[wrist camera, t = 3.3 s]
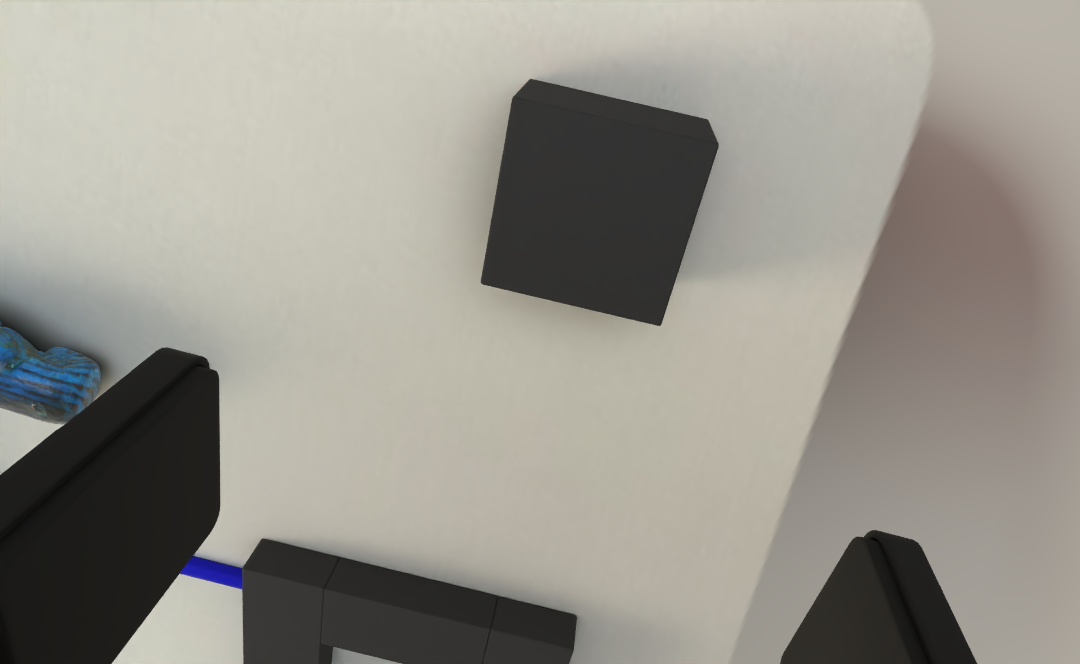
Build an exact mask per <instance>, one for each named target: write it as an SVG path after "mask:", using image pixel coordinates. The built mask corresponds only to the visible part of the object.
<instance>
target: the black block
mask: <svg viewBox="0 0 1080 664" xmlns="http://www.w3.org/2000/svg"><path fill="white" fill-rule="evenodd" d="M717 149H718V142H717V140H716V137H715V135H714V133H713V130H712V128H711V126H710V123H709V121H708V120H707V119H703V118H699V117H694V116H690V115H686V114H681V113H677V112H673V111H668V110H664V109H659V108H655V107H651V106H646V105H642V104H638V103H633V102H629V101H625V100H620V99H616V98H612V97H607V96H603V95H599V94H594V93H590V92H586V91H581V90H577V89H572V88H568V87H564V86H559V85H555V84H551V83H546V82H542V81H538V80H533V79H530V80H529V81H528V82H527V83H526V84H525V85H524V86H523V87H522V88H521V89H520V90H519V91H518V92H517V94H516V95H515V96H514V97H513V98H512V103H511V109H510V115H509V120H508V126H507V132H506V138H505V144H504V150H503V155H502V161H501V167H500V173H499V179H498V185H497V190H496V196H495V202H494V208H493V214H492V219H491V225H490V231H489V237H488V243H487V249H486V254H485V260H484V266H483V272H482V278H481V284H483V285H488V286H492V287H496V288H500V289H505V290H509V291H513V292H517V293H522V294H526V295H530V296H534V297H539V298H543V299H547V300H551V301H556V302H560V303H564V304H568V305H573V306H577V307H581V308H585V309H589V310H594V311H598V312H602V313H606V314H611V315H615V316H619V317H623V318H628V319H632V320H636V321H640V322H645V323H649V324H653V325H657V326H660V325H661V324H662V321H663V318H664V314H665V311H666V308H667V305H668V302H669V299H670V296H671V293H672V290H673V286H674V283H675V280H676V277H677V274H678V271H679V268H680V265H681V261H682V258H683V255H684V252H685V249H686V246H687V243H688V240H689V237H690V233H691V230H692V227H693V224H694V221H695V218H696V215H697V212H698V209H699V205H700V202H701V199H702V196H703V193H704V190H705V187H706V184H707V181H708V177H709V174H710V171H711V168H712V165H713V162H714V159H715V156H716V153H717Z"/></svg>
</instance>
